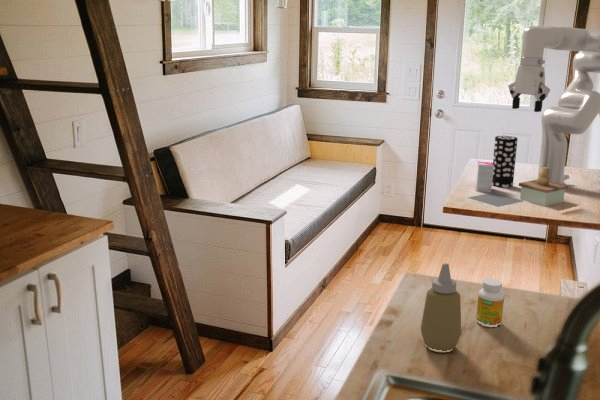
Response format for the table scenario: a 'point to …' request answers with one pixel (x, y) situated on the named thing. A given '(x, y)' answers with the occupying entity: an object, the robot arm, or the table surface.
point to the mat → (495, 199)
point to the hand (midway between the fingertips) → (526, 110)
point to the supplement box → (484, 176)
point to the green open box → (542, 196)
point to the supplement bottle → (490, 302)
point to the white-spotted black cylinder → (504, 161)
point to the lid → (543, 182)
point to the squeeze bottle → (442, 313)
